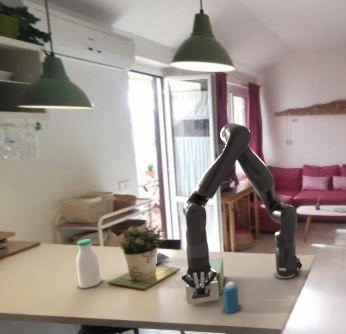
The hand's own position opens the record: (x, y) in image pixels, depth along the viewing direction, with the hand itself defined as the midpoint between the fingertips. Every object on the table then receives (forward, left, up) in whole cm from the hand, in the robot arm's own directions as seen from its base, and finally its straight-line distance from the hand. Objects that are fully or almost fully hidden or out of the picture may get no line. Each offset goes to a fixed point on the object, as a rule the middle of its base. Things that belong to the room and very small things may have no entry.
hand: (201, 295), depth 128 cm
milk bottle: (+50, -33, -5) cm, 60 cm away
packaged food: (+28, -49, -5) cm, 57 cm away
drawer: (0, -6, -4) cm, 7 cm away
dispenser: (0, -15, -5) cm, 16 cm away
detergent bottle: (-11, +5, -5) cm, 13 cm away
